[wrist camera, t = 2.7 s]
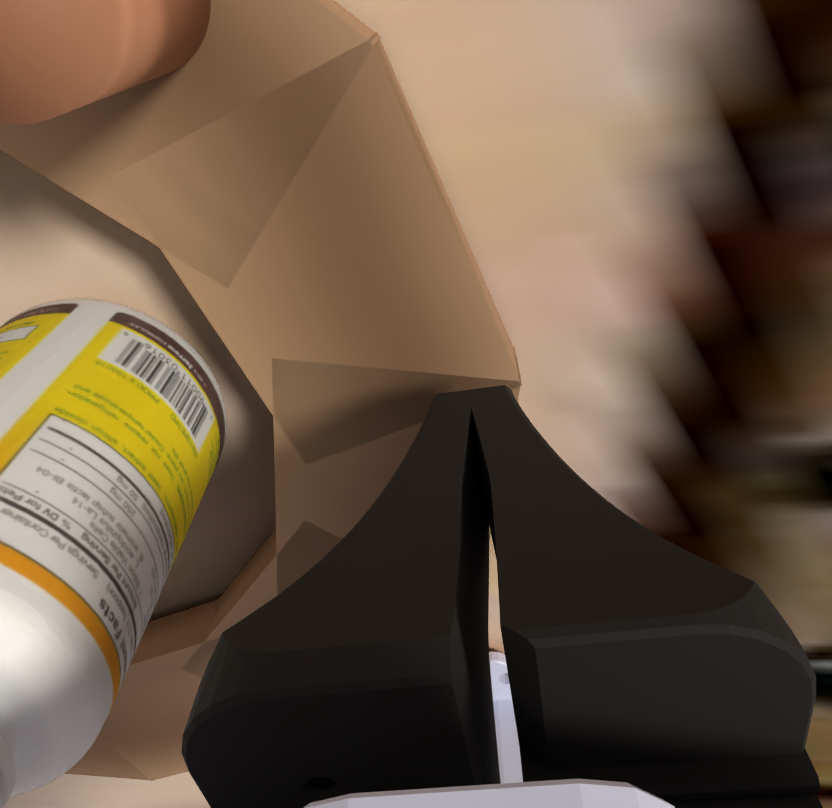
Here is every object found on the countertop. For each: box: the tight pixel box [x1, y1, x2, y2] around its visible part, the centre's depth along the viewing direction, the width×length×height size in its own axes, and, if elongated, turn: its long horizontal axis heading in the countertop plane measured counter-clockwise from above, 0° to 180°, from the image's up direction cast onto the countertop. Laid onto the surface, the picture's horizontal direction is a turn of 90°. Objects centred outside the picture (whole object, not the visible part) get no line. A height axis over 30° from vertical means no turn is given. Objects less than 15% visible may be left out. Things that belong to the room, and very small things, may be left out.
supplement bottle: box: [0, 299, 227, 808], centre depth 12 cm, size 6×6×10 cm
